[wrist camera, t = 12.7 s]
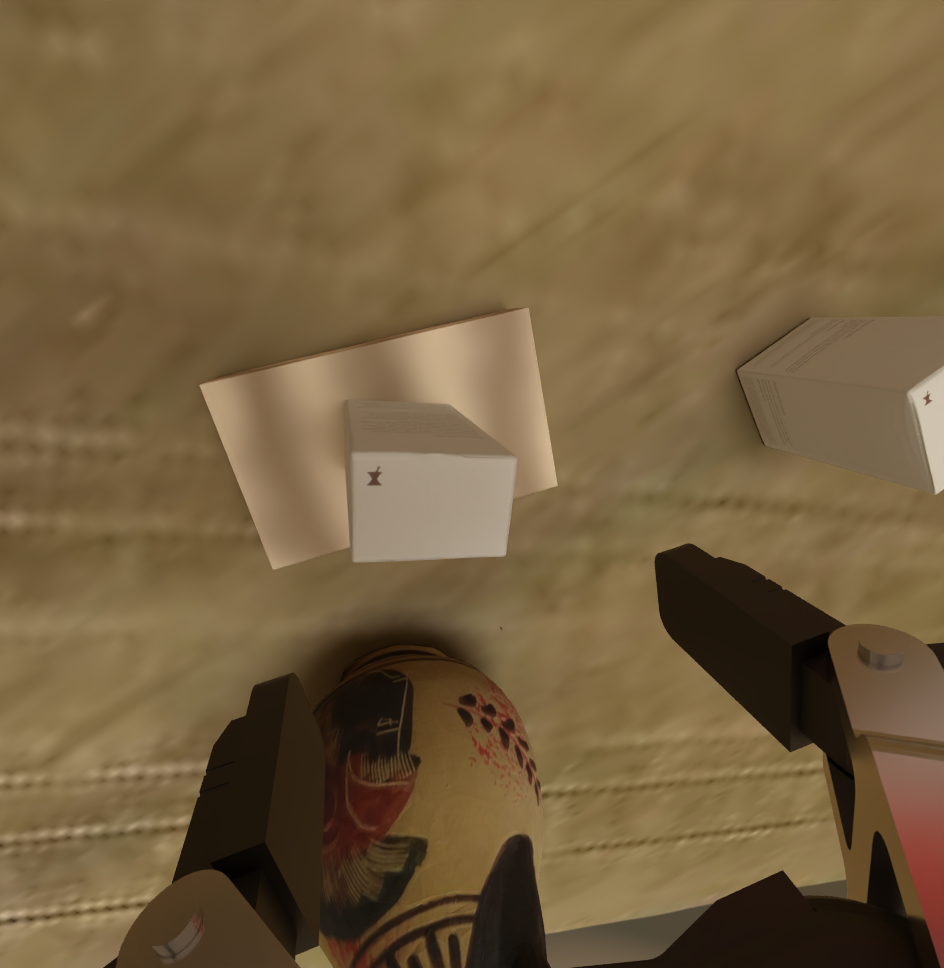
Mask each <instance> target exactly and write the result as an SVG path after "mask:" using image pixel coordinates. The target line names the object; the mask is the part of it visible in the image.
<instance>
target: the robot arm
mask: <svg viewBox="0 0 944 968" xmlns="http://www.w3.org/2000/svg"><path fill="white" fill-rule="evenodd" d="M655 572H656V582H657V593H658V603H659V612H660V617H661V620H662V622H663V625H664V627H665V629H666V631H667V632H668V634H669V635H670V636H671V638H672V639H673V640H674V641H675V642H676V643H677V644H678V645H679V646H680V647H681V648H682V649H683V650H685V651H686V652H687V653H688V654H689V655H690V656H691V657H692V658H693V659H694V660H695V661H696V662H697V663H698V664H699V665H700V666H701V667H702V668H703V669H704V670H705V671H706V672H707V673H708V674H709V675H710V676H712V677H713V678H714V679H715V680H716V681H717V682H718V683H719V684H720V685H721V686H722V687H723V688H724V689H725V690H726V691H727V692H728V693H729V694H730V695H731V696H732V697H733V698H734V699H735V700H736V701H738V702H739V703H740V704H741V705H742V706H743V707H744V708H745V709H746V710H747V711H748V712H749V713H750V714H751V715H752V716H753V717H754V718H755V719H756V720H757V721H758V722H759V723H760V724H761V725H762V726H763V727H765V728H766V729H767V730H768V731H769V732H770V733H771V734H772V735H773V736H774V737H775V738H776V739H777V740H778V741H779V742H780V743H781V744H782V745H783V746H784V747H785V748H786V749H787V750H788V751H789V752H792V751H795V750H797V749H799V748H802V747H804V746H807V745H809V744H811V743H814V744H816V745H817V746H818V747H819V748H820V749H821V750H822V751H823V768H824V772H825V777H826V782H827V786H828V791H829V796H830V800H831V805H832V809H833V814H834V819H835V823H836V828H837V833H838V837H839V842H840V846H841V851H842V856H843V860H844V866H845V872H846V879H847V891H848V899H844V898H839V897H833V896H812V895H808V896H807V895H806V896H803V895H802V894H801V893H800V891H799V890H798V889H797V888H796V886H795V885H794V884H793V883H792V881H791V880H790V879H789V878H788V876H787V875H786V874H785V873H784V871H783V870H782V871H780V872H778V873H776V874H774V875H771V876H769V877H767V878H765V879H763V880H760V881H758V882H756V883H754V884H752V885H750V886H747V887H745V888H743V889H741V890H739V891H736V892H734V893H732V894H730V895H728V896H725V897H723V898H721V899H719V900H717V901H716V902H715V903H714V904H713V905H712V906H710V907H709V909H708V910H707V911H705V912H704V913H703V914H702V915H701V916H700V917H699V918H698V919H697V920H696V921H695V922H694V923H693V924H692V925H691V926H690V927H689V928H688V929H687V930H686V931H685V932H684V933H683V934H682V935H681V936H680V937H679V938H678V939H677V940H676V941H675V942H674V943H673V944H672V945H671V946H670V947H669V948H668V949H667V950H666V951H665V952H664V953H663V954H661V955H660V956H658V957H656V958H654V959H650V960H642V961H633V962H623V963H613V964H603V965H594V966H583V967H574V968H944V643H935V644H924V643H923V642H922V641H920V640H919V639H917V638H915V637H913V636H911V635H909V634H907V633H905V632H902V631H899V630H897V629H893V628H889V627H885V626H880V625H872V624H853V625H848V626H846V625H844V624H843V623H841V622H839V621H838V620H836V619H834V618H833V617H831V616H829V615H828V614H826V613H824V612H823V611H821V610H819V609H818V608H816V607H815V606H813V605H811V604H810V603H808V602H806V601H805V600H803V599H801V598H800V597H798V596H796V595H795V594H793V593H791V592H790V591H788V590H786V589H785V590H783V589H782V587H781V586H780V585H778V584H776V583H775V582H773V581H772V580H770V579H768V580H766V578H765V576H763V575H762V574H760V573H758V572H757V571H755V570H753V569H752V568H750V567H748V566H747V565H745V564H742V563H738V562H735V561H732V560H728V559H725V558H722V557H718V558H714V557H712V556H711V555H709V554H708V553H706V552H705V551H703V550H701V549H700V548H698V547H697V546H695V545H693V544H685V545H682V546H679V547H676V548H673V549H670V550H667V551H664V552H661V553H658V554H657V555H656V557H655ZM324 790H325V750H324V744H323V739H322V736H321V732H320V729H319V727H318V724H317V722H316V720H315V717H314V715H313V712H312V710H311V708H310V705H309V703H308V700H307V698H306V695H305V693H304V691H303V688H302V686H301V683H300V681H299V679H298V677H297V676H296V674H295V673H290V674H287V675H284V676H281V677H278V678H275V679H272V680H269V681H266V682H263V683H260V684H257V685H255V686H254V687H253V689H252V693H251V697H250V701H249V705H248V709H247V713H246V716H244V717H241V718H238V719H235V720H232V721H231V722H230V723H229V725H228V726H227V727H226V729H225V730H224V732H223V733H222V734H221V736H220V737H219V739H218V740H217V741H216V743H215V744H214V746H213V749H212V752H211V756H210V759H209V762H208V765H207V769H206V776H204V779H203V782H202V785H201V789H200V797H198V799H197V802H196V805H195V808H194V812H193V815H192V818H191V822H190V825H189V828H188V832H187V835H186V838H185V841H184V845H183V848H182V851H181V855H180V858H179V861H178V865H177V868H176V871H175V874H174V878H173V881H172V884H171V885H170V886H168V887H167V888H165V889H164V890H163V891H162V892H161V893H160V894H158V895H157V896H156V897H155V898H154V899H153V900H152V901H151V902H150V903H149V904H148V905H147V906H146V908H145V909H144V910H143V911H142V912H141V914H140V915H139V916H138V918H137V919H136V920H135V922H134V923H133V925H132V926H131V928H130V930H129V931H128V933H127V935H126V937H125V939H124V941H123V943H122V946H121V948H120V951H119V955H118V957H117V958H115V959H114V960H113V961H111V962H110V963H109V964H107V965H106V966H105V967H103V968H300V967H299V965H298V964H297V963H296V962H295V955H297V954H300V953H302V952H305V951H307V950H309V949H312V948H314V947H317V946H319V923H320V896H321V870H322V843H323V817H324Z"/></svg>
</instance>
